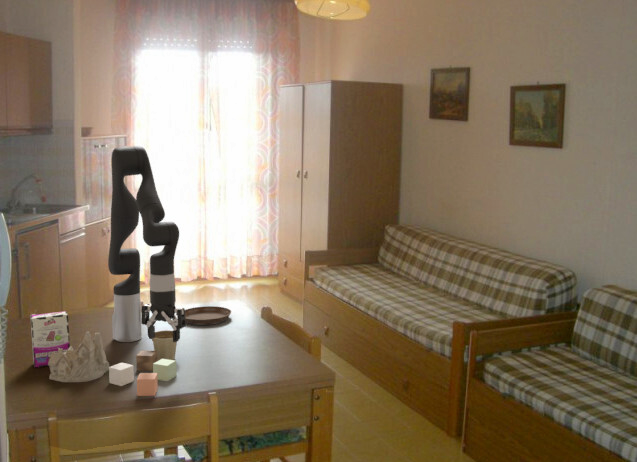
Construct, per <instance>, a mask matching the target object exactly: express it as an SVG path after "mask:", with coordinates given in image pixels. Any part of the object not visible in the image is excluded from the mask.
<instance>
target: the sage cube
mask: <svg viewBox="0 0 637 462" xmlns="http://www.w3.org/2000/svg"><path fill="white" fill-rule="evenodd" d="M152 373H157V378H158V381H163V382H169V381H171V380H173V379H174V378H175V377H177V360H175V359H174V360H168V359H161V360H159V361H157V362H155V363H153V371H152Z"/></svg>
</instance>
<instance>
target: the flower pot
mask: <svg viewBox="0 0 637 462" xmlns="http://www.w3.org/2000/svg"><path fill="white" fill-rule="evenodd" d="M151 341H152V345H153V351H157V361H159V360H161V359H168V360H175V359H176V351H177V344H178V343H177V342H178V341H177V342H173V330H167V329H166V330H165V329H164V330H158V331H155V338H153V339H151Z"/></svg>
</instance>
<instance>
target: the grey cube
mask: <svg viewBox="0 0 637 462" xmlns="http://www.w3.org/2000/svg"><path fill="white" fill-rule="evenodd" d="M134 368H135V367H134V364H129V363H125V362H119V363H117V364H113V365H111V366H110V367H109V370H108V376H109V377H108V378H109V381H108V382H109V384H113V385H116V386H119V387H123V386H126V385H127V384H130V383H133V382H134V381H135V380H134V379H135V377H134V376H135V371H134V370H135V369H134Z"/></svg>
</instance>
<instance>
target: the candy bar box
mask: <svg viewBox="0 0 637 462" xmlns="http://www.w3.org/2000/svg"><path fill="white" fill-rule="evenodd" d="M29 317H30V318H29V319H30V329H31V332H30V333H31V343H32V344H31V347H32V348H31V349H32V360H33V361H32V363H33V367H34V368H35V367H38V368H44V367H43V366H45V367H50V366H49V365H48V362H49V359H50V356H51V353H58V349H59V348H60V349H61V348H62V349H63V353H65V352H66V351H67V350H68V349H69V347H70V346H71V344H70V328H69V314H68V312H67V311H58V312H57V311H56V312H48V313H41V314H40V313H39V314H30V316H29Z"/></svg>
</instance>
